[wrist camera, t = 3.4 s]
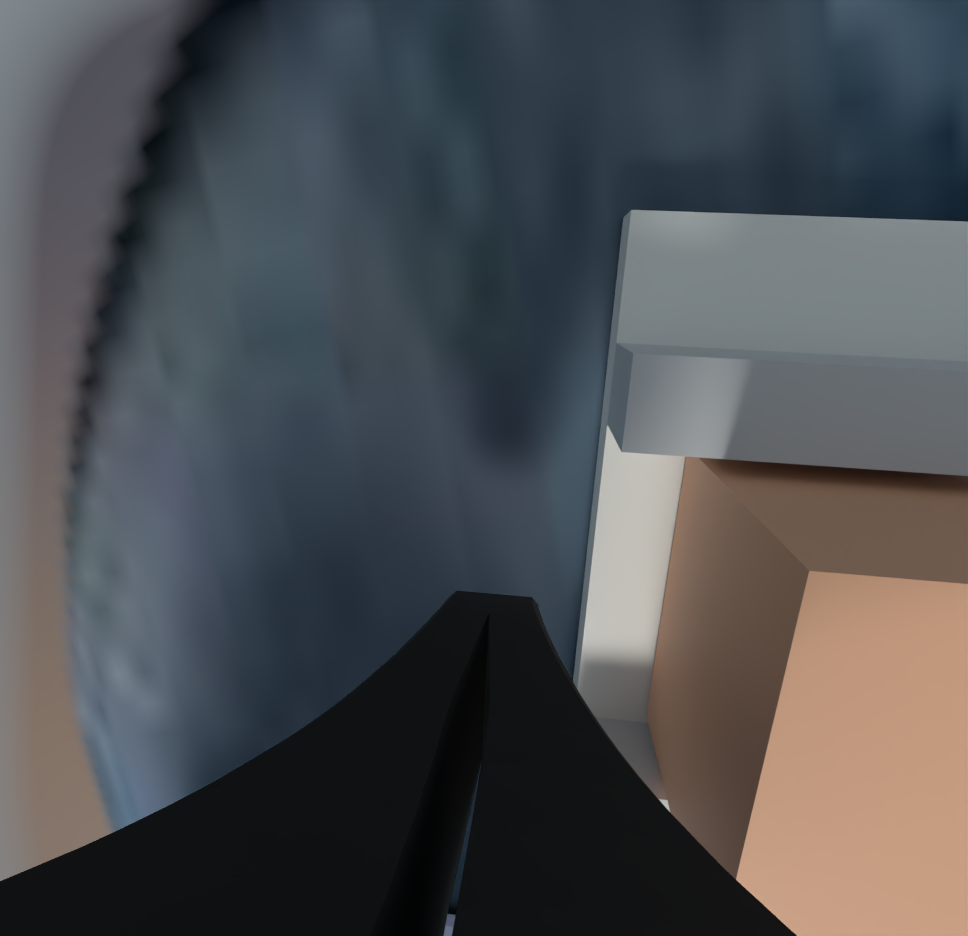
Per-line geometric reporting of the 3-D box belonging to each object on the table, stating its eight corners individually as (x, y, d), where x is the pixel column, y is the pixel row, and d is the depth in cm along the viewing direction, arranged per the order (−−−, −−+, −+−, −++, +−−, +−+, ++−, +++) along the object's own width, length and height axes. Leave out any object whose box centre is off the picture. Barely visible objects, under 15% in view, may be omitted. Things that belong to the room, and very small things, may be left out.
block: (646, 714, 12) (712, 979, 7) (687, 446, 10) (809, 570, 6) (888, 739, 12) (1122, 1038, 7) (974, 466, 10) (1361, 616, 5)
